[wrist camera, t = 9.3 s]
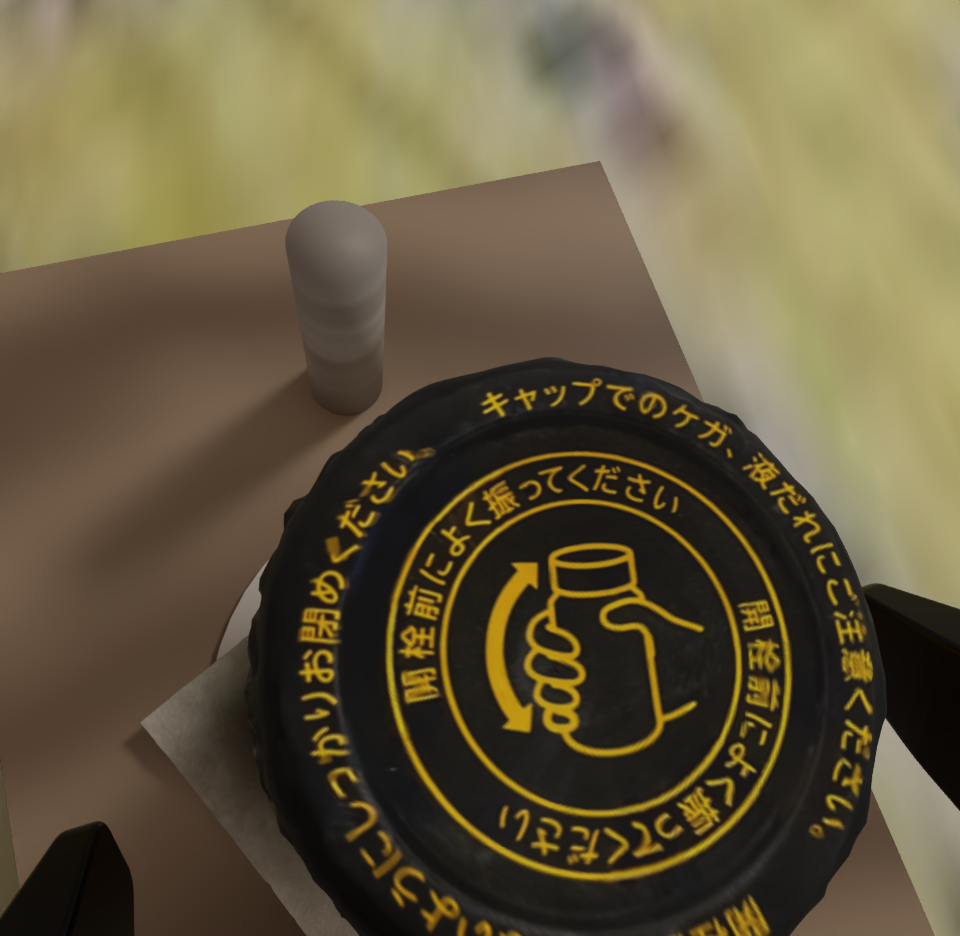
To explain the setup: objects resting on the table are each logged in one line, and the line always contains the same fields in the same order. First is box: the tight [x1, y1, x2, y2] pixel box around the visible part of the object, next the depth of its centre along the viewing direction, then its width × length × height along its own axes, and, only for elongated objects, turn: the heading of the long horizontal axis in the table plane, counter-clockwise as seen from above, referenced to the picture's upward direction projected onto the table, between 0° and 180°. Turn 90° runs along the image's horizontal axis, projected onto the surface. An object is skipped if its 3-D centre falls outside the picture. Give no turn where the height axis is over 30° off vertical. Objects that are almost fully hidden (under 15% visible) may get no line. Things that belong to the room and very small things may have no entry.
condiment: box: [140, 357, 887, 936], centre depth 11 cm, size 7×8×12 cm
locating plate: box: [0, 161, 935, 936], centre depth 16 cm, size 22×18×7 cm
